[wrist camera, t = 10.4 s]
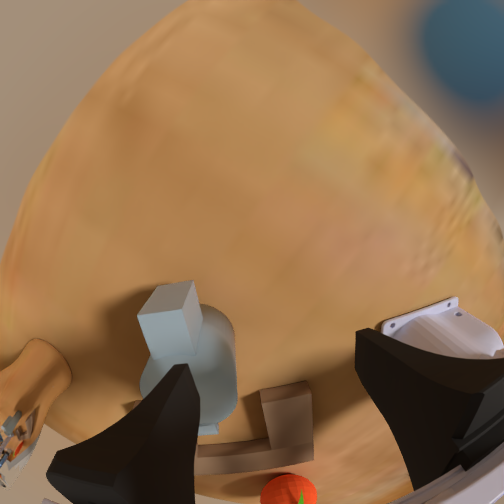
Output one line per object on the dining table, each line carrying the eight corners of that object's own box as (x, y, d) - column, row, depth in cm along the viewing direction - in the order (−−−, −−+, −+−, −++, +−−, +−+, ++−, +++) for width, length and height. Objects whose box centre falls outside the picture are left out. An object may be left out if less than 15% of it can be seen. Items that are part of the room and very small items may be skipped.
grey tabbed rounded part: (242, 368, 21) (248, 430, 15) (178, 376, 21) (164, 436, 14) (220, 265, 19) (214, 305, 12) (145, 278, 19) (108, 320, 12)
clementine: (265, 461, 25) (272, 509, 18) (321, 459, 26) (335, 502, 19) (253, 488, 26) (257, 529, 20) (302, 486, 27) (311, 524, 20)
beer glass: (64, 399, 21) (9, 496, 7) (19, 357, 20) (-53, 437, 5) (85, 370, 21) (14, 487, 6) (33, 321, 19) (-63, 410, 5)
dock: (306, 380, 22) (311, 393, 20) (310, 448, 25) (313, 460, 23) (135, 400, 22) (130, 412, 20) (174, 463, 24) (172, 475, 22)
